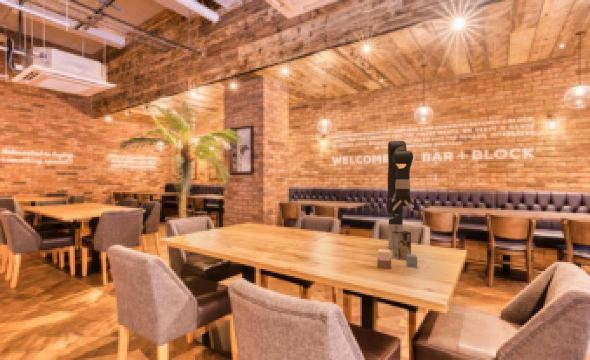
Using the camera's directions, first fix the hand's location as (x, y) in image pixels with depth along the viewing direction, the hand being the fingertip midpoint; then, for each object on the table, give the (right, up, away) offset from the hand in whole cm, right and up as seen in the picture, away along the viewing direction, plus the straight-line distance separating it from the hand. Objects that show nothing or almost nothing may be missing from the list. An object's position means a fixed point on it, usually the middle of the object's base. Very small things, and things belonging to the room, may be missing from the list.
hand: (402, 217), depth 160 cm
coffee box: (+7, -28, +21) cm, 35 cm away
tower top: (-9, -24, +3) cm, 25 cm away
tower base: (-9, -28, +3) cm, 30 cm away
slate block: (+7, -28, +4) cm, 29 cm away
